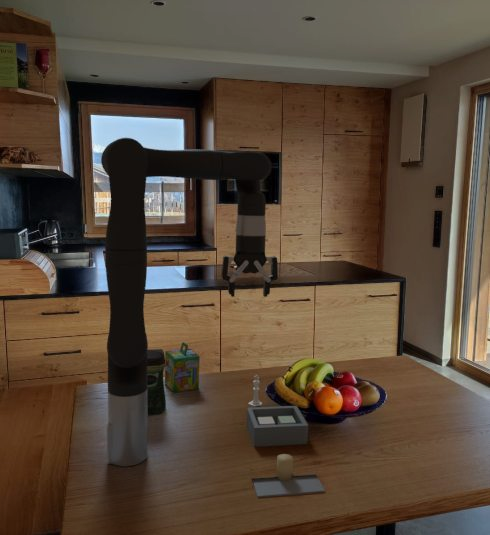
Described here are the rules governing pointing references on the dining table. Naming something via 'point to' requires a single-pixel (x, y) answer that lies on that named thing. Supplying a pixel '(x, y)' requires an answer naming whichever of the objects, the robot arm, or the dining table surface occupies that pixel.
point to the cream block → (265, 421)
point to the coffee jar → (155, 381)
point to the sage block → (286, 420)
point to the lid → (286, 481)
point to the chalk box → (182, 369)
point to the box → (277, 427)
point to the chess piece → (255, 393)
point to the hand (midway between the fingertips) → (249, 296)
